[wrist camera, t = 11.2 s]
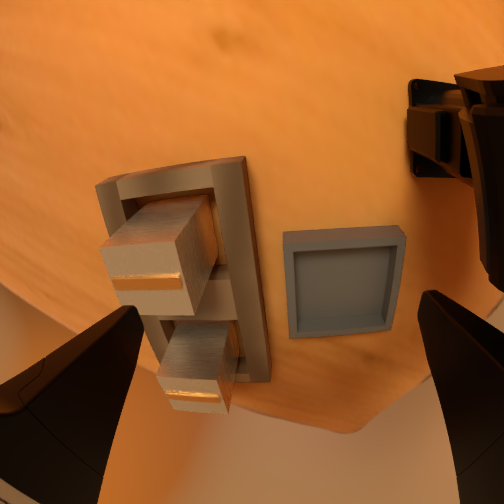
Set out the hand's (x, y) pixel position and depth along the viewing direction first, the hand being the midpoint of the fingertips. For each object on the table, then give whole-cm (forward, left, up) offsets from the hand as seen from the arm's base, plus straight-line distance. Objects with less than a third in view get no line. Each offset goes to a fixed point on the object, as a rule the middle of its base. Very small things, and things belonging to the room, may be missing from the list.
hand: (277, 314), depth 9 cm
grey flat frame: (+7, +7, -12) cm, 16 cm away
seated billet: (+7, +2, -12) cm, 14 cm away
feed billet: (+7, +12, -12) cm, 18 cm away
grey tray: (-4, +7, -12) cm, 14 cm away
